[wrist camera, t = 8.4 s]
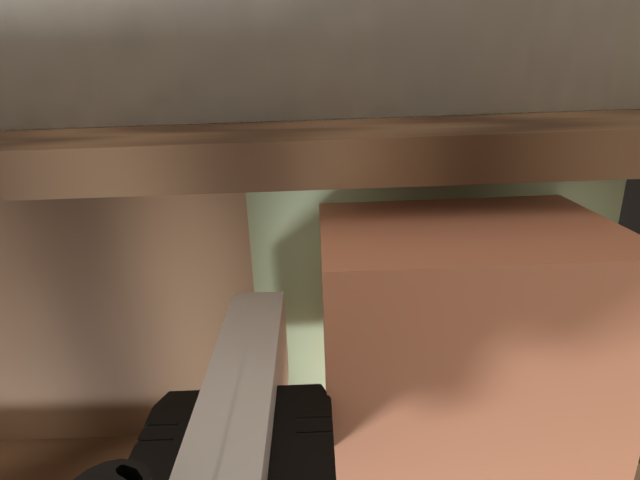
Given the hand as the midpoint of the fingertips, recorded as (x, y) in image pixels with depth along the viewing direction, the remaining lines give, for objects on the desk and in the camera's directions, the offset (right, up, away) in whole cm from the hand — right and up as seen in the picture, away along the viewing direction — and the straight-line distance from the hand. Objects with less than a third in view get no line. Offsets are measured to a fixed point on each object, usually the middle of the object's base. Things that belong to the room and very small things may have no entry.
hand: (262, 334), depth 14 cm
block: (+5, +1, +1) cm, 5 cm away
